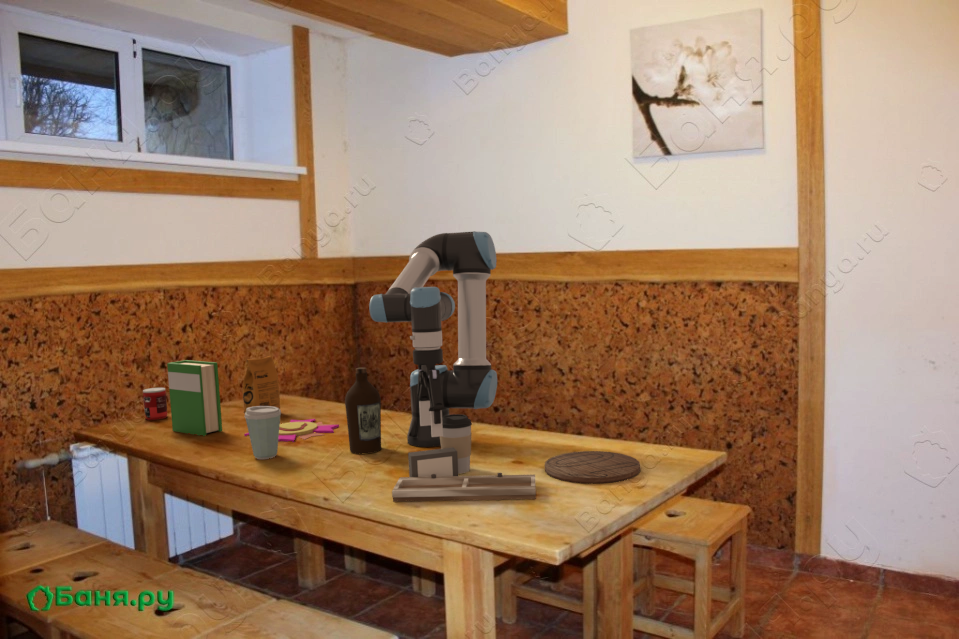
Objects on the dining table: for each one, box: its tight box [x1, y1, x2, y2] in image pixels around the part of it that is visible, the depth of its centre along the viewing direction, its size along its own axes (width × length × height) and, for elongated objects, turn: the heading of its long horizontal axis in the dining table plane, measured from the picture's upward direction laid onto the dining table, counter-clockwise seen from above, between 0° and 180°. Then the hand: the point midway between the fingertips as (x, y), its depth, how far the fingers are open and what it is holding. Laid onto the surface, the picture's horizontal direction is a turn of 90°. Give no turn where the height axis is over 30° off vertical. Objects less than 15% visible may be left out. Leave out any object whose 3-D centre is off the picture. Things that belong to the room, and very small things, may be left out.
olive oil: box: [344, 366, 382, 455], centre depth 232 cm, size 11×11×25 cm
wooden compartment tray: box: [391, 472, 537, 503], centre depth 188 cm, size 11×34×4 cm, turn 86°
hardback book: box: [166, 359, 223, 437], centre depth 268 cm, size 18×7×24 cm, turn 56°
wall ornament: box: [243, 418, 340, 443], centre depth 262 cm, size 30×2×30 cm
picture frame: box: [407, 447, 459, 477], centre depth 198 cm, size 4×12×8 cm, turn 106°
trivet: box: [544, 450, 641, 485], centre depth 204 cm, size 25×25×2 cm
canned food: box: [142, 387, 168, 421], centre depth 294 cm, size 8×8×11 cm
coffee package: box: [241, 355, 281, 415], centre depth 290 cm, size 10×12×22 cm
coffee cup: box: [440, 413, 473, 475], centre depth 208 cm, size 9×9×15 cm
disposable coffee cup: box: [244, 406, 282, 460], centre depth 230 cm, size 11×11×15 cm
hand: (431, 430), depth 197 cm, fingers open, 13 cm apart
